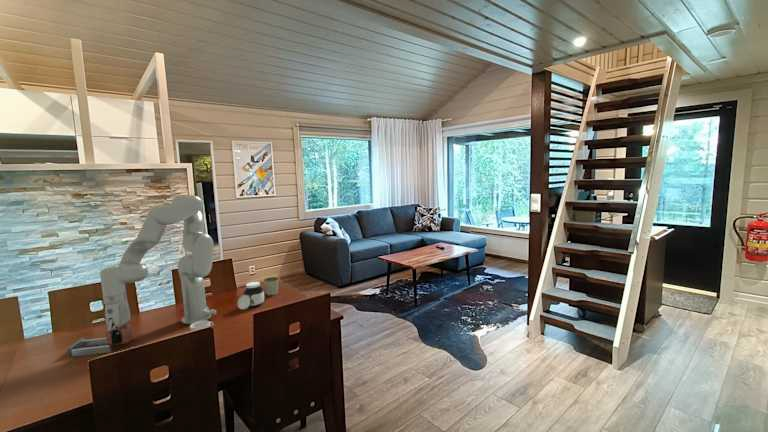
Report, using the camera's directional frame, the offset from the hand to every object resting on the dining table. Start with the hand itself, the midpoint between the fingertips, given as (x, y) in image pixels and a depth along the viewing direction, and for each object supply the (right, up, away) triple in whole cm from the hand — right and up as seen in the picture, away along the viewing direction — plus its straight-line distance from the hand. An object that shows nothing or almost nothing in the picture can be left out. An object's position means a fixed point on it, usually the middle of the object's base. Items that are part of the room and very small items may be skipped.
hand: (120, 339), depth 147 cm
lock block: (0, -1, 0) cm, 1 cm away
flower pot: (+44, +6, +59) cm, 74 cm away
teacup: (+30, -1, +8) cm, 31 cm away
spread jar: (+39, +3, +41) cm, 56 cm away
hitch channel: (-9, -3, -2) cm, 9 cm away
